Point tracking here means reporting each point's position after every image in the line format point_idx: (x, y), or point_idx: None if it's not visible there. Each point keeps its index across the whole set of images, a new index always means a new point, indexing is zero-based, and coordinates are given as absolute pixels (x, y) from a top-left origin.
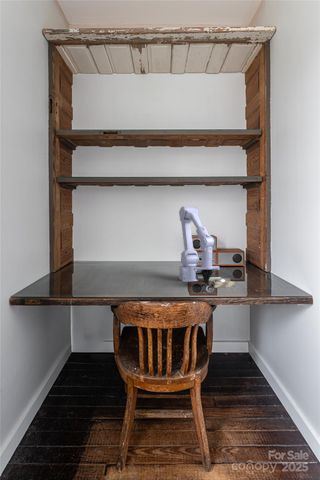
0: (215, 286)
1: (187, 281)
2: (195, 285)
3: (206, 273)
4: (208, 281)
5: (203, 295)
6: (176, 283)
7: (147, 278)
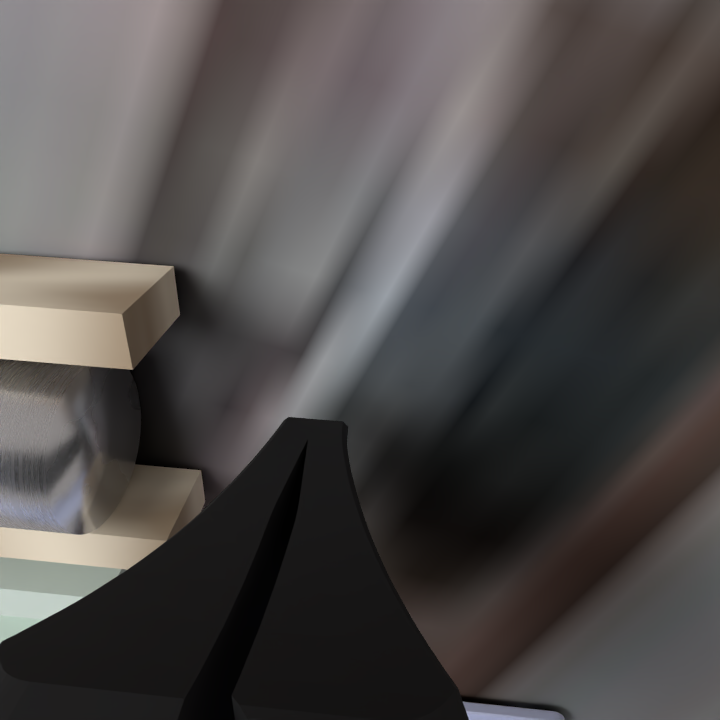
0: (143, 276)
1: (492, 707)
2: (484, 532)
3: (338, 663)
4: (270, 442)
5: None
6: (712, 693)
7: None
